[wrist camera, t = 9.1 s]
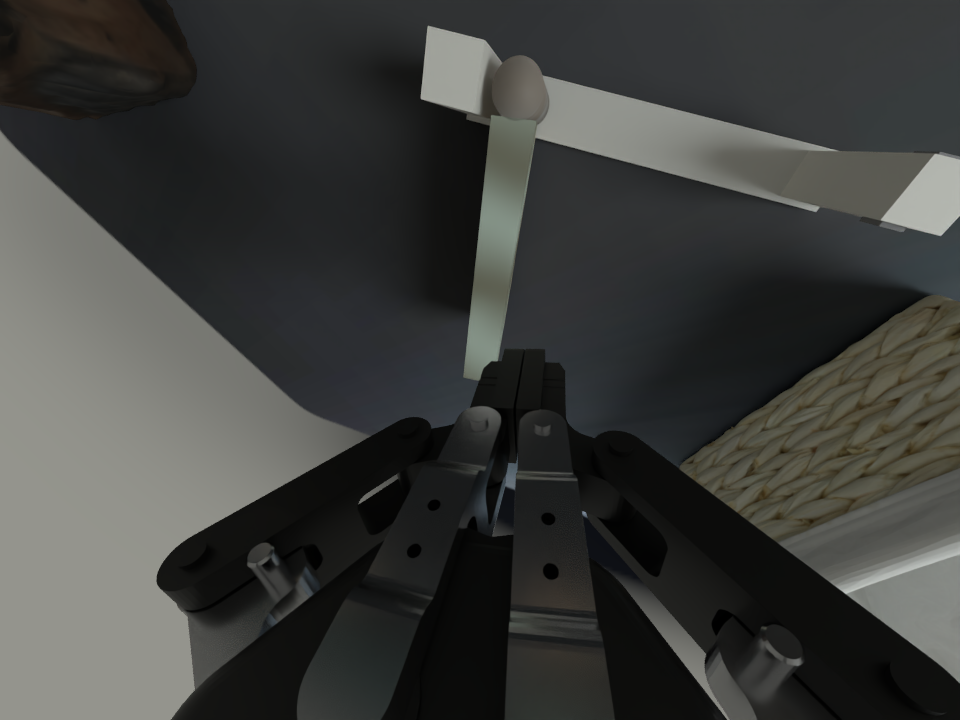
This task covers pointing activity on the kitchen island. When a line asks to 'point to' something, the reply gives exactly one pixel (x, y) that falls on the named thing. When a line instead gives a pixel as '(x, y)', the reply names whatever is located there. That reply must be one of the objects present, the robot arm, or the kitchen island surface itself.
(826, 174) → the gate posts
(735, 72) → the kitchen island surface
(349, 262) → the kitchen island surface
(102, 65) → the owl
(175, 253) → the kitchen island surface
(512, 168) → the panel
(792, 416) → the storage basket
